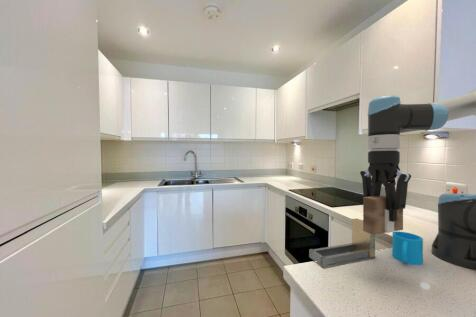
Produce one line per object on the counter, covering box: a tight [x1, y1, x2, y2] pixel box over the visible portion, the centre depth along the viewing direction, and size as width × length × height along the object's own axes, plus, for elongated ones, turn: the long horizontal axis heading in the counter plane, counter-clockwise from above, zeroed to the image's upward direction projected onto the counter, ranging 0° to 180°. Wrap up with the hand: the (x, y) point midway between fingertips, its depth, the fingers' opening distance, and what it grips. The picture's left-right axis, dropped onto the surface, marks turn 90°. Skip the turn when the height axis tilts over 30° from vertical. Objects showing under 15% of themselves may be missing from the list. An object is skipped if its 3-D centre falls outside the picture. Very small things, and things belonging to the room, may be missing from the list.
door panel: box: [362, 194, 404, 236], centre depth 58 cm, size 12×3×10 cm, turn 107°
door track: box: [308, 217, 376, 269], centre depth 70 cm, size 22×7×12 cm, turn 107°
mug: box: [391, 230, 424, 266], centre depth 68 cm, size 12×8×8 cm
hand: (382, 229), depth 58 cm, fingers closed on door panel, 3 cm apart
